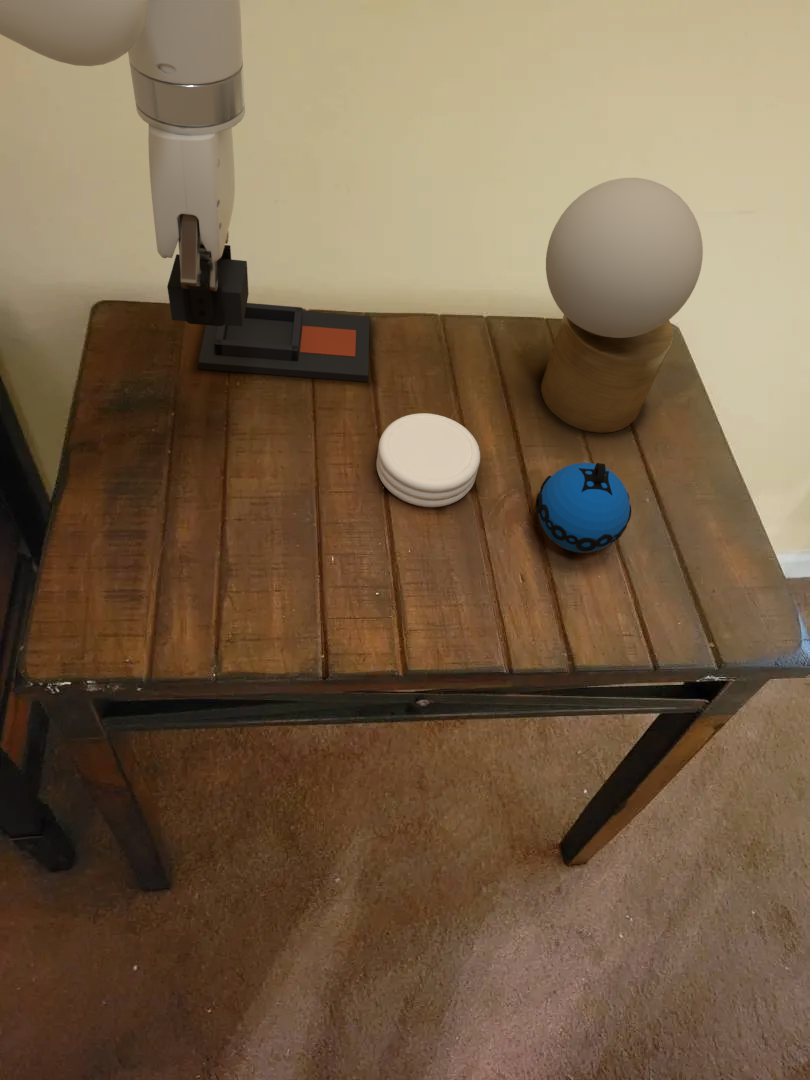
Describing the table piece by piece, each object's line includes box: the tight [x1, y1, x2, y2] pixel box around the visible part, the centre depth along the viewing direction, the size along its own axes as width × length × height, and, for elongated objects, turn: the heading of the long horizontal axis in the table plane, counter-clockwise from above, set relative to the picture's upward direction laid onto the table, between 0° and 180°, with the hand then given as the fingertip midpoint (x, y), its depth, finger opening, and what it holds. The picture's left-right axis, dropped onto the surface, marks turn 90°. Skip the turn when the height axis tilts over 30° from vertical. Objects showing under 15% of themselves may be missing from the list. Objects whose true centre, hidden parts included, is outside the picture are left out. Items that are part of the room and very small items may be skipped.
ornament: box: [534, 462, 632, 554], centre depth 75 cm, size 9×9×10 cm
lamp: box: [540, 177, 704, 434], centre depth 81 cm, size 15×14×25 cm
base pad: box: [197, 302, 370, 383], centre depth 90 cm, size 18×10×2 cm, turn 91°
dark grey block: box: [166, 253, 249, 326], centre depth 70 cm, size 6×4×4 cm
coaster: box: [375, 412, 481, 508], centre depth 81 cm, size 10×10×4 cm
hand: (210, 301), depth 71 cm, fingers closed on dark grey block, 4 cm apart
